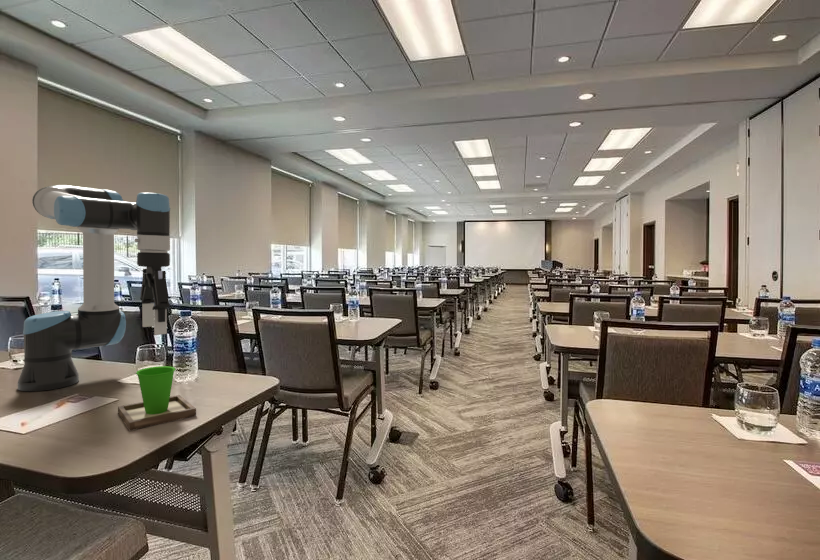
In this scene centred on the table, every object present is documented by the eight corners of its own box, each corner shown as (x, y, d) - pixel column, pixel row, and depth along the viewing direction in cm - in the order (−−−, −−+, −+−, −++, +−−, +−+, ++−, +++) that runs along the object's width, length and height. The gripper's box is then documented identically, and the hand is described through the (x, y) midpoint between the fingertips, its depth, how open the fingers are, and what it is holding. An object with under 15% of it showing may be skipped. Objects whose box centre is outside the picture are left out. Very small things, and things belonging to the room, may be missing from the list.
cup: (158, 418, 108) (157, 376, 108) (128, 415, 110) (127, 373, 110) (183, 406, 117) (183, 367, 117) (155, 404, 119) (154, 365, 119)
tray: (117, 413, 114) (117, 406, 114) (179, 401, 124) (179, 394, 124) (129, 430, 103) (129, 422, 103) (196, 415, 114) (196, 408, 113)
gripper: (127, 250, 121) (128, 324, 122) (148, 252, 103) (149, 339, 104) (157, 251, 126) (158, 322, 127) (182, 253, 108) (182, 336, 109)
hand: (154, 330), depth 116 cm, fingers open, 13 cm apart
